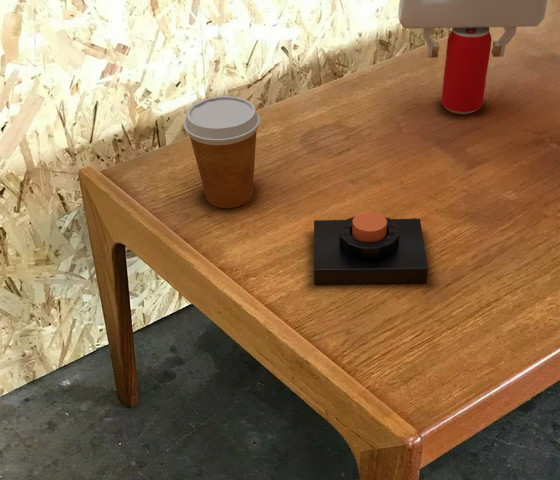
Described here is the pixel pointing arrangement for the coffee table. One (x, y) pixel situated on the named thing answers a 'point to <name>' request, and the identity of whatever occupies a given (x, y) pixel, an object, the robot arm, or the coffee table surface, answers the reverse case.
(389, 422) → the coffee table surface
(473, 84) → the beverage can
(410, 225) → the housing
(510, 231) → the coffee table surface
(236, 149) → the disposable coffee cup
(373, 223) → the button
